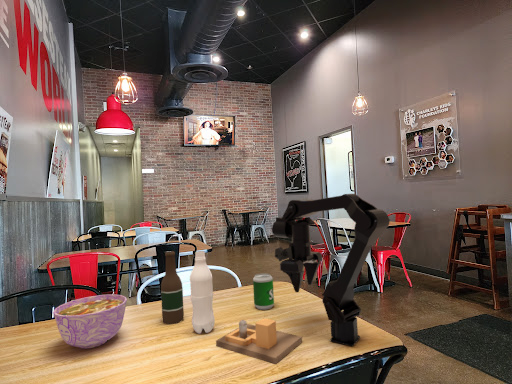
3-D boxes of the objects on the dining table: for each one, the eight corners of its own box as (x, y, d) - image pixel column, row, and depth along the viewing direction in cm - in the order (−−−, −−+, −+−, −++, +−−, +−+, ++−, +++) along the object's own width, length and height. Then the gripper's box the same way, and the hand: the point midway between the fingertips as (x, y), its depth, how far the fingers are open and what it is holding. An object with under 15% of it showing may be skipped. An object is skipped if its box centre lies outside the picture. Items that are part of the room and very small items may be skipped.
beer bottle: (187, 316, 116) (184, 249, 117) (180, 324, 108) (177, 253, 109) (166, 316, 117) (163, 250, 117) (158, 324, 109) (154, 254, 110)
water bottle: (210, 335, 98) (206, 253, 99) (188, 334, 100) (184, 254, 100) (218, 326, 105) (214, 249, 106) (197, 325, 107) (193, 250, 107)
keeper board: (302, 341, 91) (300, 318, 91) (275, 364, 80) (274, 337, 80) (246, 328, 103) (245, 307, 103) (216, 345, 91) (215, 322, 91)
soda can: (266, 312, 116) (265, 278, 116) (250, 308, 121) (248, 276, 121) (278, 305, 122) (276, 274, 123) (262, 302, 127) (260, 272, 127)
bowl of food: (43, 364, 86) (42, 320, 86) (66, 334, 105) (65, 299, 105) (124, 351, 91) (122, 309, 91) (131, 325, 110) (130, 291, 110)
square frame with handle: (280, 340, 89) (279, 318, 89) (265, 351, 83) (263, 328, 83) (241, 330, 97) (240, 310, 97) (225, 340, 91) (224, 319, 91)
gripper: (292, 234, 114) (294, 278, 114) (263, 242, 99) (266, 293, 99) (321, 235, 108) (324, 282, 108) (296, 243, 93) (299, 297, 92)
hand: (303, 288), depth 102 cm, fingers open, 9 cm apart
